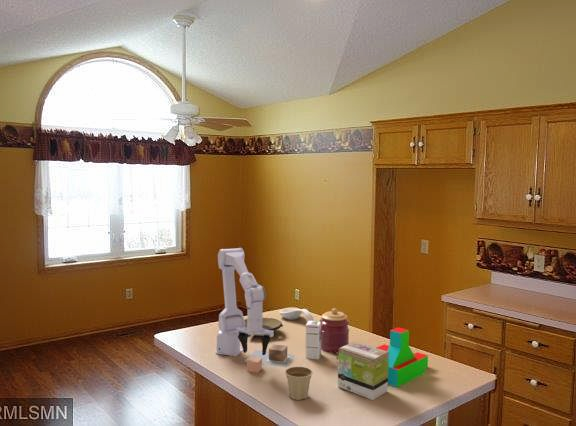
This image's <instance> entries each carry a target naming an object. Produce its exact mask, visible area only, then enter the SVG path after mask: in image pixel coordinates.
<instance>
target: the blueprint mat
mask: <svg viewBox="0 0 576 426" xmlns="http://www.w3.org/2000/svg"><path fill="white" fill-rule="evenodd" d="M296 356H297V354H290V353H287V358H286V359H285V360H284V361H283V362H280V361H272V360H269V351H268V350H266V354H265V355H262V350H257V349H255V350H254V351H253V352H252V353H251V354H250V355H249V356H248V357H247V358H246V359H245V360H244V361H243V363H247V360H248V359H249V358H250V357H258V358H262V366H263V365H264V366H271V367H272V366H273V367H280V368H281V367H282V368H287V367H288V366H289V365H290V364H291V362H292V361H294V359H295V358H296Z"/></svg>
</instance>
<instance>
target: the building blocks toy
mask: <svg viewBox="0 0 576 426" xmlns="http://www.w3.org/2000/svg"><path fill="white" fill-rule="evenodd" d="M389 332H390V333H389V344H382V345H379V346H377V347H375V348H378V349H381V350H384V351H388V352H389V365H388V385H390V386H393V387H396V388H398V387H401V386H402V385H404V384H406V383H408V382H410V381H412V380H414V379H416V378H418V377H419V376H422V375H424V374H425V373H426V369H427V368H428V367H429V365H428V364H429V355H427V354H425V353H421V352H415V353H414V352H413V351H412V349H411V347H410V345H409V344H410V343H409V340H410V330H409V329H406V328H403V327H399V326H398V327H395V328H393V329H390V331H389Z"/></svg>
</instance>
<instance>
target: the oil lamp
mask: <svg viewBox="0 0 576 426" xmlns="http://www.w3.org/2000/svg"><path fill="white" fill-rule="evenodd" d="M227 317H228V316H227ZM244 321H245V325H244V327H247V319H245V318H244ZM282 327H284V324H283V323H282V322H281V320H279V319H276V318H272V317H270V318H269V317H262V328H263V329H267V330H271V331H274V332H275V331H276V330H279V329H281V328H282ZM249 335H251V334H248V336H249ZM251 336H252V335H251Z"/></svg>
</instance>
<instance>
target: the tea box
mask: <svg viewBox="0 0 576 426" xmlns="http://www.w3.org/2000/svg"><path fill="white" fill-rule="evenodd" d="M388 365H389V352H388V351H384V350H381V349H378V348H376V347H374V346H370V345H367V344H364V343H361V342H357V341H351V342H349V344H347V345H345V346H343V347H341V348H339V353H338V362H337V387H338V388H340V389H344V390H346V391H348V392H351V393H354V394H356V395H358V396H361V397H364V398H366V399H369V400H371V401H374V400H375V399H378V398H379V397H381V396H382V395H383V394H385V393H387V392H388V385H389V384H388Z"/></svg>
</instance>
